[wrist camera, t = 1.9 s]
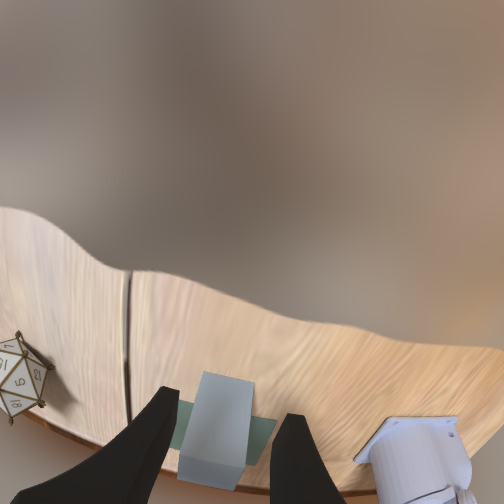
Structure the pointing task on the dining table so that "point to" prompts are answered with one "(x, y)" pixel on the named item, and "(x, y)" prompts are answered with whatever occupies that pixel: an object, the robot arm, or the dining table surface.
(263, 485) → the dining table surface
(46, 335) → the dining table surface
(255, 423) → the felt mat
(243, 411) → the slate-blue block
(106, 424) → the dining table surface
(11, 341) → the game die
